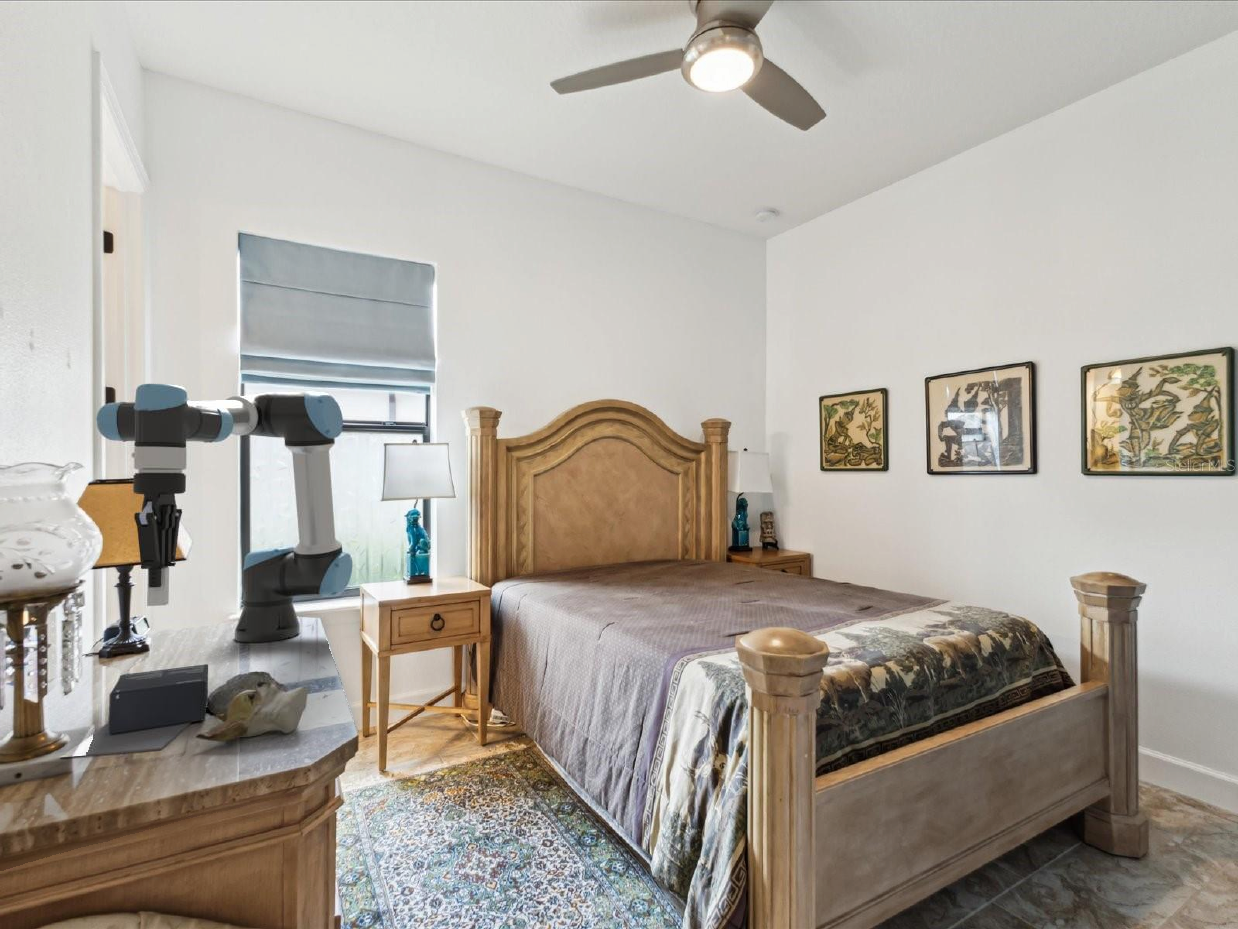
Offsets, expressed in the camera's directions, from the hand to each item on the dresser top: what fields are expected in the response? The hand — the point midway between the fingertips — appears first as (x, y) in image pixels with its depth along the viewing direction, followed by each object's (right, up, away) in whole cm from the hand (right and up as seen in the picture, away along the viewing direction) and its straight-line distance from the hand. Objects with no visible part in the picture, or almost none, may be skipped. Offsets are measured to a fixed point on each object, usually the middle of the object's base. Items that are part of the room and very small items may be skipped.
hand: (157, 604), depth 111 cm
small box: (0, -16, +3) cm, 16 cm away
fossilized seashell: (+14, -20, +4) cm, 24 cm away
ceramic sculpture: (+23, -19, -9) cm, 31 cm away
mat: (+3, -19, -8) cm, 21 cm away
